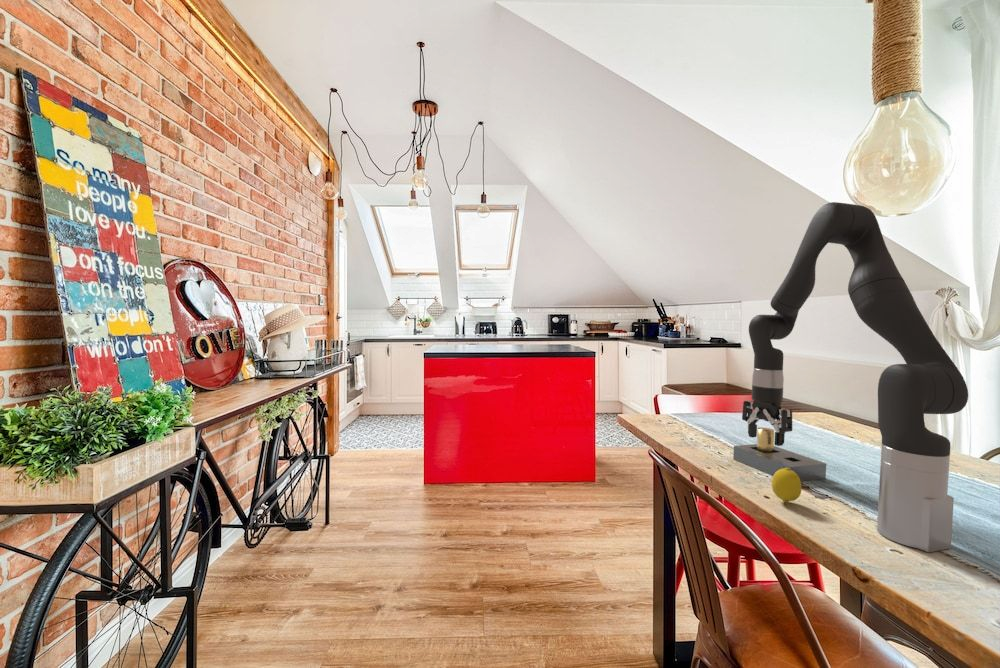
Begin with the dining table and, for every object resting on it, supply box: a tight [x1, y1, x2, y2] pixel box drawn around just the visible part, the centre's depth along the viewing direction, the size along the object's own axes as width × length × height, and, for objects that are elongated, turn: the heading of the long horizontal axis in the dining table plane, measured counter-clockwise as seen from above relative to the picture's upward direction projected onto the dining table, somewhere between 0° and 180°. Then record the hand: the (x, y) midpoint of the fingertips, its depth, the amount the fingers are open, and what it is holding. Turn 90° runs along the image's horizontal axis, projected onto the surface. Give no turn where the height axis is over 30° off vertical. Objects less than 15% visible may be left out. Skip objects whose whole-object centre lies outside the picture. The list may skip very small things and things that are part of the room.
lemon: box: [771, 468, 802, 504], centre depth 95 cm, size 6×6×8 cm
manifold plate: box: [732, 443, 827, 482], centre depth 117 cm, size 18×12×4 cm, turn 16°
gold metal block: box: [756, 426, 775, 454], centre depth 121 cm, size 4×4×10 cm
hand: (765, 441), depth 121 cm, fingers open, 8 cm apart
